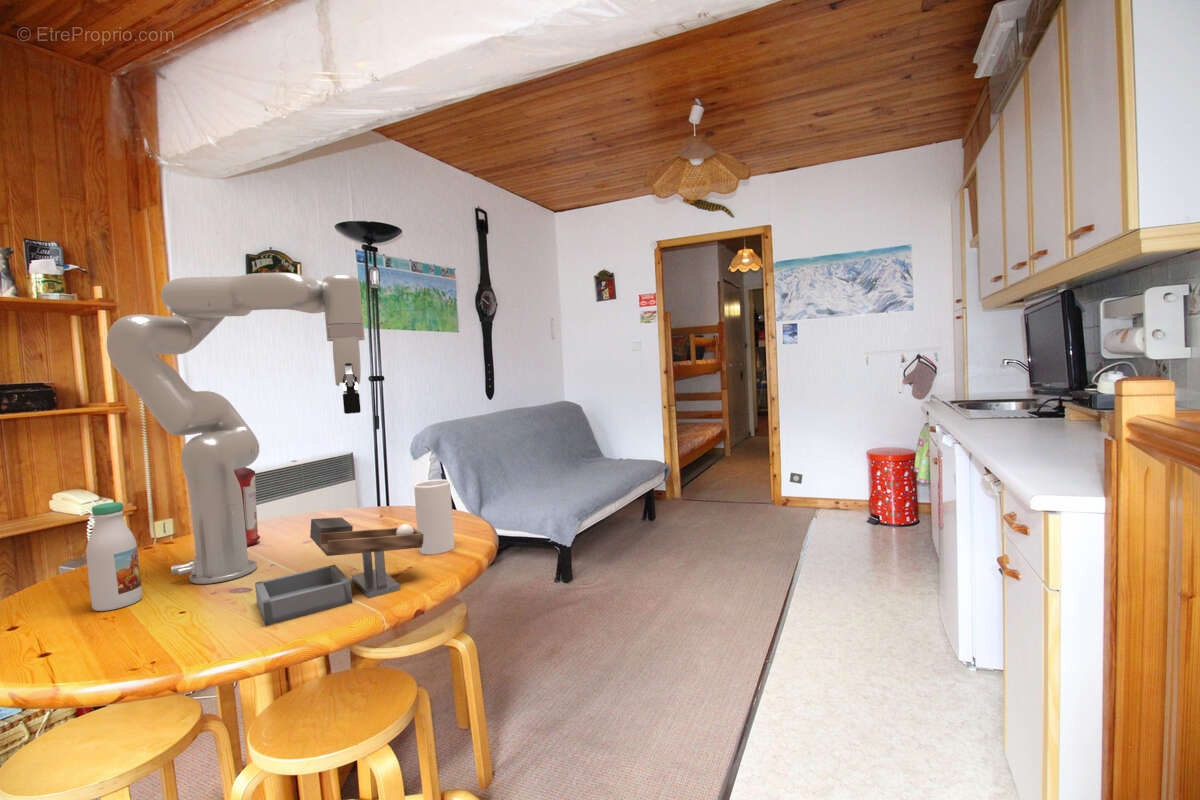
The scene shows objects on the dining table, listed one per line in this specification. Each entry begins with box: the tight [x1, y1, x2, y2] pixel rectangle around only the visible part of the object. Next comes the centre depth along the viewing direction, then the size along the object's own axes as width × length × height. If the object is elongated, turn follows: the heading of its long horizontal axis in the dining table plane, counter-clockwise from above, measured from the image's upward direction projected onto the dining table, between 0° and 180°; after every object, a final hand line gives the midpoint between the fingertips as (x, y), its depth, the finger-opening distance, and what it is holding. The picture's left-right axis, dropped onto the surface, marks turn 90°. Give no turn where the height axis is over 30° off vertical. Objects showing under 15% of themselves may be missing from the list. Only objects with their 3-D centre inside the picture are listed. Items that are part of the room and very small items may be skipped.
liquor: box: [234, 467, 261, 547], centre depth 152 cm, size 7×7×28 cm
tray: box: [254, 564, 353, 627], centre depth 110 cm, size 14×13×4 cm
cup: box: [413, 479, 456, 555], centre depth 139 cm, size 8×8×16 cm
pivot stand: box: [351, 550, 401, 599], centre depth 118 cm, size 6×13×8 cm, turn 36°
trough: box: [309, 516, 424, 557], centre depth 121 cm, size 18×18×4 cm
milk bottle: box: [85, 501, 143, 612], centre depth 115 cm, size 8×8×20 cm
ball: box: [396, 523, 414, 535], centre depth 121 cm, size 4×4×4 cm
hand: (352, 412), depth 128 cm, fingers open, 9 cm apart
